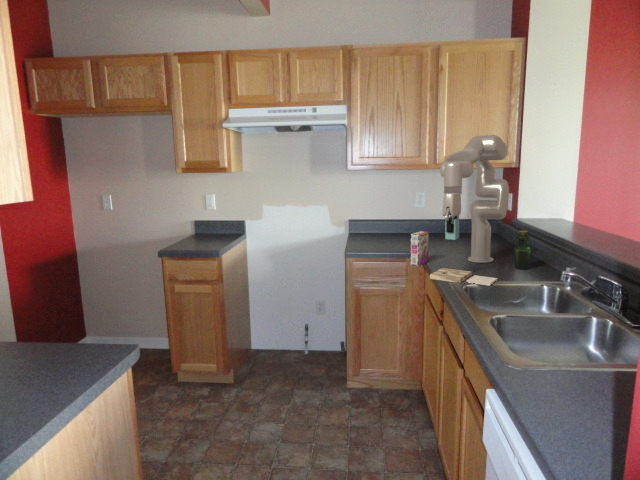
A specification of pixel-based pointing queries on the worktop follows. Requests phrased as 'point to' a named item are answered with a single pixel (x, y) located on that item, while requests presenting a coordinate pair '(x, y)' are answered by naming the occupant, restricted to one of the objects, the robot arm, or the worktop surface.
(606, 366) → the worktop surface
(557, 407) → the worktop surface
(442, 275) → the pocket base
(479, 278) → the tile
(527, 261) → the potion bottle
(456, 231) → the teal block
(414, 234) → the candy bar box
